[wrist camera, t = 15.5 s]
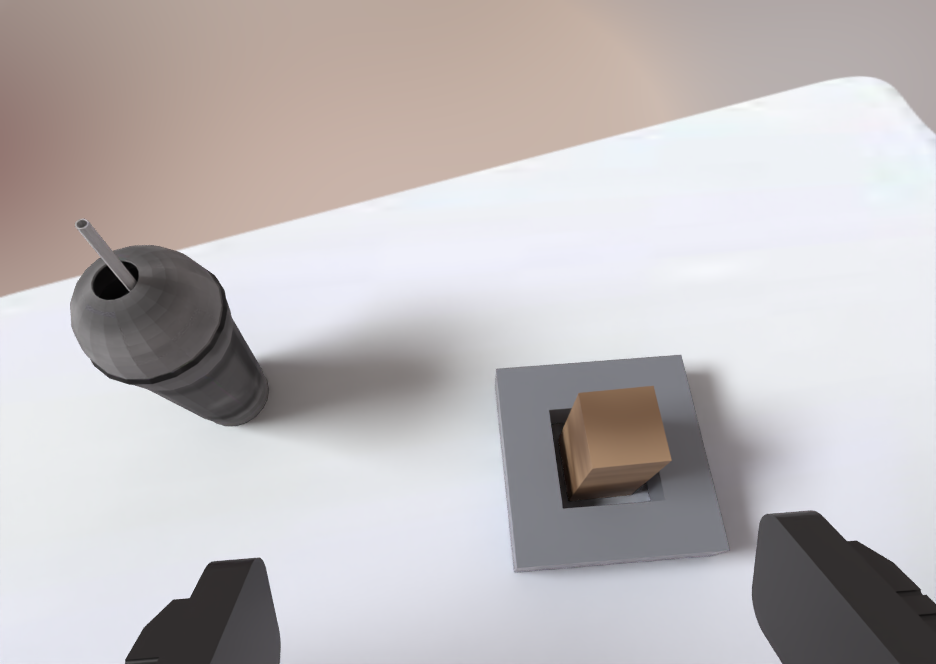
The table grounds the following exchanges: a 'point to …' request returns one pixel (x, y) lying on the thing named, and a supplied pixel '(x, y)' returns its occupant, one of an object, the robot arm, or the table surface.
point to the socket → (607, 526)
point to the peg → (612, 443)
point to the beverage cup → (165, 330)
